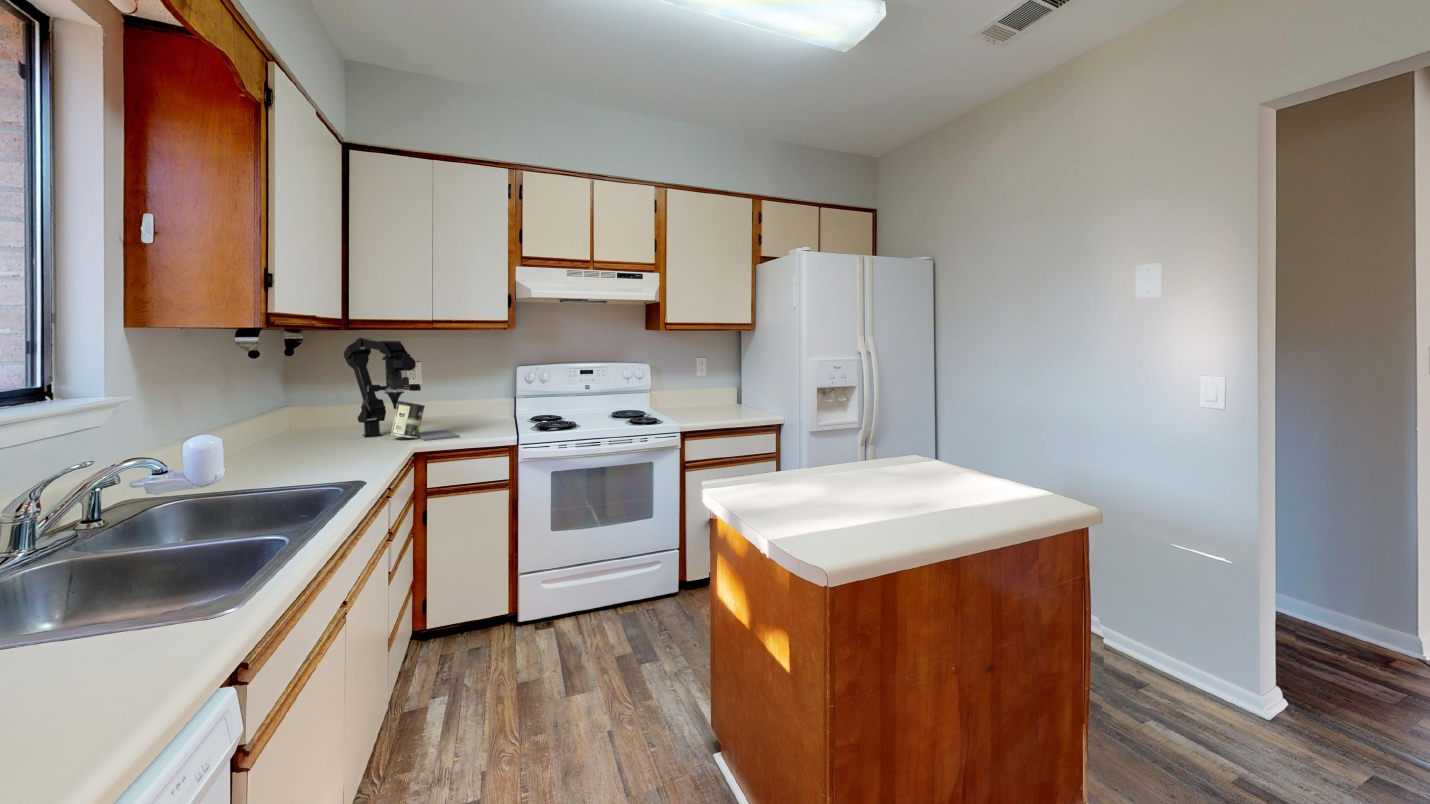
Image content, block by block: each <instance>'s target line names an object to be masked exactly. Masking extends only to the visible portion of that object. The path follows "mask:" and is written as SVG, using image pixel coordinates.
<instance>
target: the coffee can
mask: <svg viewBox="0 0 1430 804" xmlns="http://www.w3.org/2000/svg"><path fill="white" fill-rule="evenodd" d="M425 408H426V407H425V404H419V403H413V402H407V401H400V400H398V402H397V405H396V409H395V413H394V418H393V422H392V427H391V432H390V435H392V436H394V437H400V438H408V439H418V434H419V432H420V428H421V425H422V420H423V415H424V410H425Z"/></svg>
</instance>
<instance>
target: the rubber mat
mask: <svg viewBox="0 0 1430 804" xmlns="http://www.w3.org/2000/svg"><path fill="white" fill-rule="evenodd" d="M418 438H419V439H420V440H422V441H435V440H437V441H438V440H447V439H456V438H457V439H458V438H459V439H460V438H461V436H460V435H459V434H457V433H455V432H453V431H451V430H449V429H441V430H429V431H419V434H418ZM418 438H417V439H418Z"/></svg>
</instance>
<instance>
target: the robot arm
mask: <svg viewBox="0 0 1430 804" xmlns="http://www.w3.org/2000/svg"><path fill="white" fill-rule="evenodd" d="M372 350H377V351H379V353H380V354H383V355H384V356H383V357H382V359H381V360H382V361H384V365H385V385H381V384H373V382H372V379H371V376H370V374H369V373H370V372H369V369H368V366H367V365H368V364H369V360H370V359H369V356H370V355H371V353H372ZM343 358H344V359H345V362H346V363H347V365H348V366H349V367H350V368H352V369H353V371H354V375H355V377H356V381H357V385H358V387H359V390H360V394H361V396H362V400H363V401H362V403H361V406H360V408H361V411H360V413H359V414H358V416H357V421H358V423H361V424H363V426H364V427H363V430H364V433H362V436H363V437H364V438H370V437H381V436H383V434H382V433H381V429H380V428H381V427H380V425H381V424H380V422H384V421H385V419H386V414H387V410H386V405H385V403H384V400H383V399H382V398H380V399H379V398H378V397H377V395H376V393H377V392H378V393H379V392H380V391H384V394H387V396H388V397H389V399H390V401H391V403H392V405H393V407H392V408H393V409H394V410H396V409H397V404H398V403H397V402H398V401H399V399H400V397H401V395H402V394H404V393H405V391H406V390H407V391H409V392H410V391H411V392H420V391H422V390H421V384H419V383H417V384H416V383H415V384H414V383H413V384H411V383H410V380H409V379H410V378H409V376H404V377H403V374H402V373H403V371H404V372H405V371H410V372H411V371H413V370H414V369H415V368H416V361H415V359H414V358H413V357H411V353H408V352H407V350H406V348H405V347H404V345H403V343H402V341H400V340H380V339H373V338H370V337H358V338H357V339H356V340H355V341H354V342H352V343H351V344H349V345H348V346H347V347H346V348H345V350H344V352H343Z"/></svg>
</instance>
